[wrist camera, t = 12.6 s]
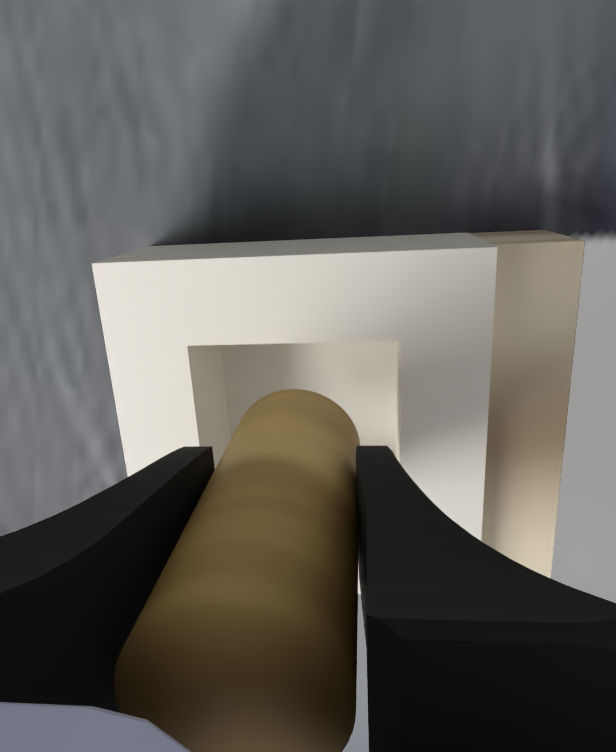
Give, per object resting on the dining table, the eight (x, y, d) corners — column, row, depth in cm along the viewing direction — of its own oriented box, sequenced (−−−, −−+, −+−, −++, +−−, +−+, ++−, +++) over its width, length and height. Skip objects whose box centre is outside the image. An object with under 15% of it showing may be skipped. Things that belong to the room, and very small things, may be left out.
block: (454, 513, 19) (478, 596, 15) (188, 511, 20) (146, 589, 16) (465, 231, 16) (497, 247, 12) (152, 245, 17) (91, 263, 13)
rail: (519, 546, 18) (546, 612, 16) (456, 545, 19) (472, 610, 16) (544, 229, 15) (585, 240, 12) (467, 233, 15) (491, 244, 13)
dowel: (361, 503, 14) (358, 796, 7) (240, 502, 14) (132, 782, 8) (359, 388, 13) (353, 604, 6) (229, 390, 13) (94, 599, 7)
